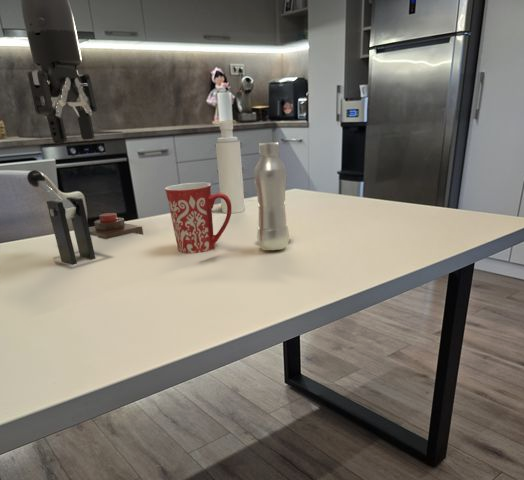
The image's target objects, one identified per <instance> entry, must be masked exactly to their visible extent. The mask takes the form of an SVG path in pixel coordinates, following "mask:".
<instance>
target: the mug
mask: <svg viewBox="0 0 524 480" xmlns="http://www.w3.org/2000/svg"><path fill="white" fill-rule="evenodd" d="M211 188H212V183H211V182H203V181H201V182H200V181H199V182H185V183H179V184H173V185H168V186H165V187H164V192H165V194H166V198H167V202H168V203H167V204H168V207H169V208H168V209H169V213H170V219H171V222H172V228H173V233H174V237H175V241H176V246H177V247H176V248H177V251H178V252H179V253H182V254H199V253H205V252H206V253H207V252H209V251H212V250H214V249H215V245H216V243H217V242H218V241H219V240H220V238H221V236H222V234H223V233H224V231H225V230H226V228H227V226H228V224H229V222H230V219H231V216H232V213H231V202H230V199H229V198H228V196H227V195H225V194H223V193H220V192H217V193H216V192H215V193H214V194H212V191H211ZM221 198H222V199H224V200H225V202H226V204H227V213H226V216H225V219H224V221H223V223H222V225H221V227H220V229H219V230H218V232H217V233H216V234H214V223H213V208H214V205H215V202H216V200H217V199H221Z"/></svg>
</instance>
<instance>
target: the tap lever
mask: <svg viewBox="0 0 524 480" xmlns="http://www.w3.org/2000/svg"><path fill="white" fill-rule="evenodd" d="M26 178H27V182H28V183H29V185H30V186H32V187H34V188H39V189H41V191H43V193H45V195H46V196H47V197H49V199H50V201H58V202H62V203H63V207H64V211H65V215H66V219H67V221H68V220H71V219H73V218H76V207H75V206H74V205H73V204H72V203H71V202H70V201H69V200H68V199H67V198H66V199H62V198H61V197H60V196H59V195H58V194H57V193H56V191H54V190H53V189H52V188H51V187H50V186H49V185H48V184H47V183H46V177H45V174H44V173H42V171H40V170H37V169H33V170H30V171H29V172H28V174H27V176H26Z"/></svg>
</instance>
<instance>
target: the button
mask: <svg viewBox="0 0 524 480" xmlns="http://www.w3.org/2000/svg"><path fill="white" fill-rule="evenodd" d="M117 217H118V215H117V213H116V212H107V213H102V214H99V219H100V222H113V221H117V220H118V219H117Z"/></svg>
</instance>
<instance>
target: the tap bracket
mask: <svg viewBox="0 0 524 480" xmlns="http://www.w3.org/2000/svg"><path fill="white" fill-rule="evenodd" d="M67 199H68V200H69V201H70V202H71V203H72V204H73V205H74V206H75V207H76V218H73V219H70V220H71V224H72V229H73V233H74V236H75V240H76V245H77V249H78V253H79V257H80V258H83V259H87V260H91V261H92V260H95V259H96V255H95V249H94V245H93V241H92V235H90V231H89V227H90V226H89V222H88V218H87V214H86V208H85V204H84V199H83V198H82V197H74V196H68V197H66V200H67ZM46 206H47V210H48V215H49V217H50V222H51V225H52V230H53V233H54V238H55V241H56V246H57V249H58V252H59V258H60V261H61V262H62V263H65V264H68V265H71V266H74V265H77V264H78V261H77V257H76V253H75V249H74V245H73V244H74V243H73V240H72V237H71V233H70V227H69V224H68V220H67V219H66V215H65V211H64V207H63V203H62V202H58V201H52V200H46Z"/></svg>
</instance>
